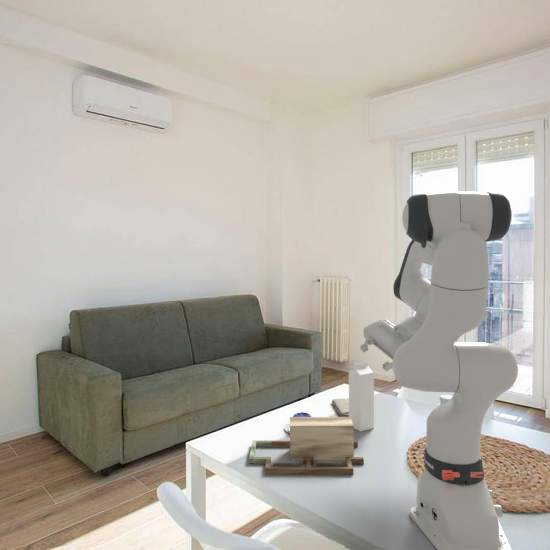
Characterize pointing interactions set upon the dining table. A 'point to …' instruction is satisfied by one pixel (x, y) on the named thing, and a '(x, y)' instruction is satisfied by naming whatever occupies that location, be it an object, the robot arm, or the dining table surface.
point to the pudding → (297, 416)
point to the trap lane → (296, 467)
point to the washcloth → (342, 406)
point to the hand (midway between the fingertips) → (372, 358)
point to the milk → (361, 396)
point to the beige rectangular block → (321, 438)
